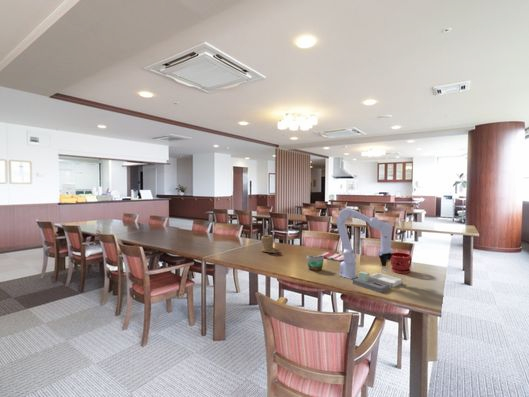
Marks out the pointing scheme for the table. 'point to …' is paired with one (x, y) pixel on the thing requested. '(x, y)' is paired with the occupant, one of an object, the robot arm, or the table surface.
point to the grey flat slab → (372, 285)
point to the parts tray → (386, 279)
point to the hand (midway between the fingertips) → (385, 265)
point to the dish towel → (333, 256)
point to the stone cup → (268, 244)
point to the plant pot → (401, 262)
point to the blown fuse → (388, 263)
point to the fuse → (363, 276)
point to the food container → (315, 263)
